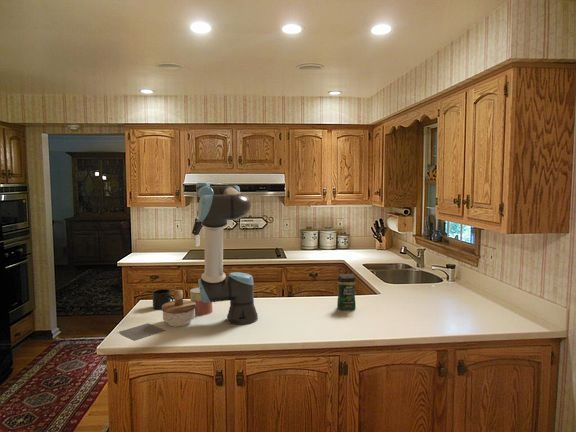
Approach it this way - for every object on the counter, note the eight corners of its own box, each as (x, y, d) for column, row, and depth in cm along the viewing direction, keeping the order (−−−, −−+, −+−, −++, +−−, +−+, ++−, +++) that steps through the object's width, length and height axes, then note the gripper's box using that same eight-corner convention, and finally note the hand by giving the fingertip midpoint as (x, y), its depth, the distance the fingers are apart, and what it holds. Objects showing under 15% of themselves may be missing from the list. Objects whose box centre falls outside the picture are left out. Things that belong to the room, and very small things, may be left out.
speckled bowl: (178, 331, 193) (177, 314, 192) (156, 325, 201) (155, 309, 200) (202, 321, 206) (201, 306, 205) (180, 316, 214) (179, 301, 213)
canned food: (209, 307, 228) (208, 286, 227) (215, 313, 218) (214, 291, 217) (188, 310, 223) (188, 288, 222) (193, 316, 213) (192, 293, 212)
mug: (168, 311, 223) (168, 294, 223) (149, 309, 227) (148, 293, 226) (178, 305, 232) (177, 290, 232) (159, 304, 236) (158, 288, 235)
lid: (202, 307, 203) (201, 290, 202) (174, 315, 191) (173, 297, 191) (183, 301, 214) (182, 284, 213) (155, 308, 202) (154, 291, 201)
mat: (166, 331, 193) (166, 330, 193) (134, 341, 181) (134, 340, 181) (147, 323, 203) (147, 323, 203) (116, 333, 191) (116, 332, 191)
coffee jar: (339, 311, 219) (339, 276, 217) (336, 306, 227) (335, 272, 225) (357, 310, 219) (357, 275, 218) (353, 305, 227) (353, 272, 226)
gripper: (223, 210, 229) (224, 248, 230) (195, 208, 245) (196, 244, 247) (212, 211, 223) (214, 250, 225) (184, 209, 239) (186, 246, 241)
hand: (205, 247), depth 236 cm, fingers open, 13 cm apart
